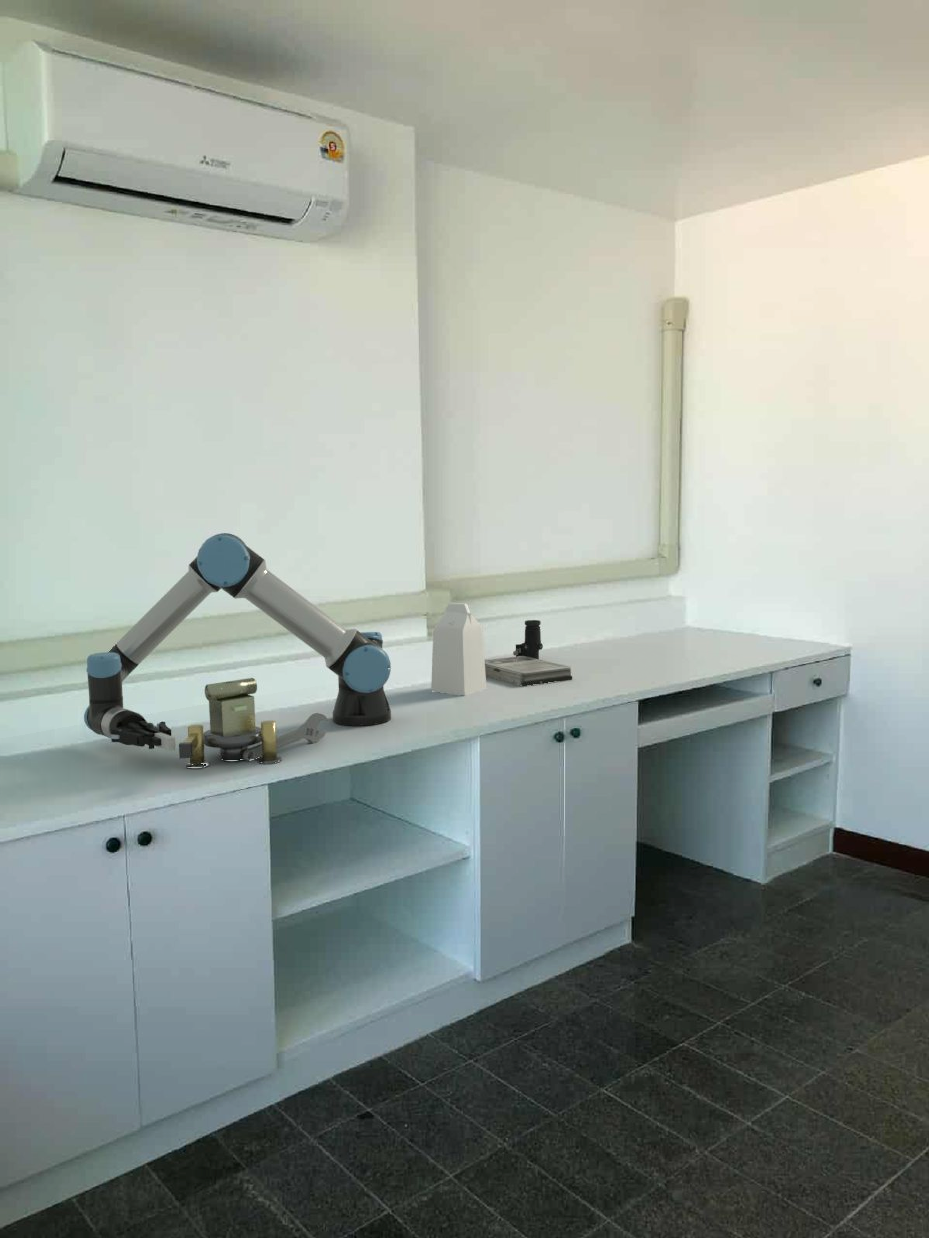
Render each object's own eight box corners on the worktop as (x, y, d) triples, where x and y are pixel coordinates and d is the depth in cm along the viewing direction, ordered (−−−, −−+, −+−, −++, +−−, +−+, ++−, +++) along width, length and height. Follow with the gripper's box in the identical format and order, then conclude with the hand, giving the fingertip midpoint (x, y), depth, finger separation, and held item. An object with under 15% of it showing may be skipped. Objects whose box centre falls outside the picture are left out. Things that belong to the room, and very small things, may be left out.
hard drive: (523, 687, 305) (523, 673, 304) (475, 674, 328) (475, 661, 327) (572, 681, 314) (572, 667, 314) (522, 668, 337) (522, 655, 337)
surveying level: (239, 744, 240) (236, 671, 238) (286, 760, 225) (282, 682, 222) (165, 759, 228) (161, 682, 226) (208, 777, 212) (204, 695, 210)
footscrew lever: (191, 760, 223) (189, 725, 222) (205, 759, 224) (204, 724, 223) (178, 778, 209) (176, 740, 208) (194, 777, 210) (192, 739, 209)
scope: (526, 618, 355) (549, 620, 349) (526, 657, 357) (549, 660, 350) (511, 621, 349) (534, 623, 343) (512, 660, 351) (534, 663, 344)
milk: (486, 689, 302) (485, 602, 298) (464, 695, 292) (463, 606, 289) (453, 685, 308) (451, 600, 305) (431, 691, 299) (429, 604, 296)
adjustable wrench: (246, 752, 224) (241, 750, 225) (252, 778, 225) (246, 777, 226) (325, 710, 242) (320, 709, 243) (330, 735, 244) (324, 734, 245)
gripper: (152, 737, 236) (200, 755, 219) (97, 747, 228) (143, 767, 210) (150, 705, 235) (199, 721, 218) (95, 714, 227) (141, 732, 209)
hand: (171, 744), depth 214 cm, fingers closed
